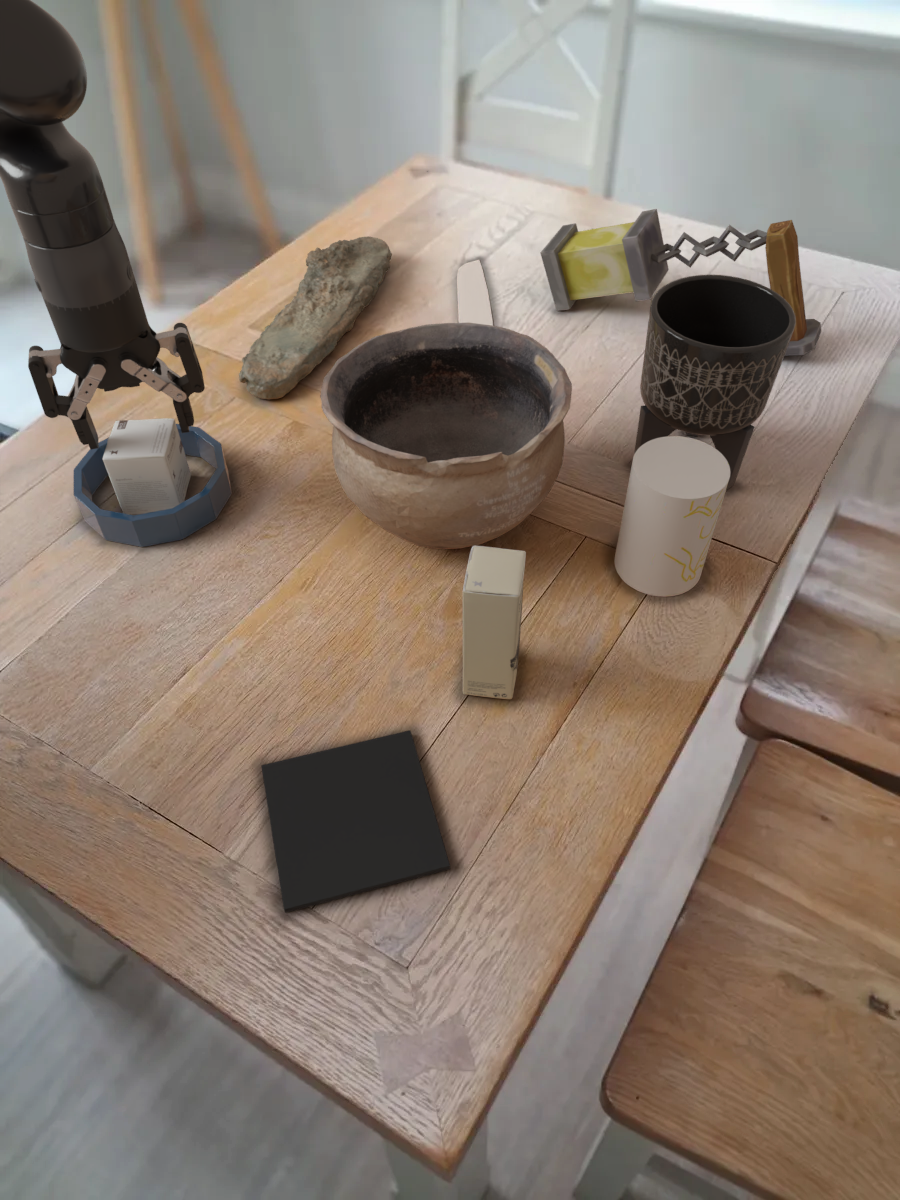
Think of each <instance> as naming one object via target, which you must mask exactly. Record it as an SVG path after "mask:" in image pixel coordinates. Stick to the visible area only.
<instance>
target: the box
mask: <svg viewBox="0 0 900 1200" xmlns="http://www.w3.org/2000/svg"><path fill="white" fill-rule="evenodd" d="M526 556H527V552H526V550H519V549H511V548H501V547H494V546H493V547H492V546H484V545H474V546H471V548H470V552H469V556H468V561H467V565H466V570H465V574H464V581H463V586H462V599H461V600H462V619H461V621H462V694H463V695H468V696H476V697H484V698H493V699H502V700H512V699H513V698H514V692H515V687H516V681H517V675H518V667H519V666H518V665H519V657H520V656H519V655H520V645H521V644H520V642H521V641H520V640H521V628H522V627H521V625H522V613H523V599H524V598H523V597H524V595H523V594H524V581H525V580H524V577H525V568H526V559H527V558H526Z"/></svg>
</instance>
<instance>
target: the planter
mask: <svg viewBox="0 0 900 1200" xmlns="http://www.w3.org/2000/svg"><path fill="white" fill-rule="evenodd" d="M648 315H649V316H648V322H647V329H646V339H645V347H644V353H643V362H642V370H641V377H640V387H639V390H640V396H641V399H642V402H643V404H644V405H640V408H639V415H638V423H637V430H636V438H635V444H634V453H633V455H634V454H635V452H636V451H637V450H638V448H639V447H641V446H642V445H643V444H645V443H646V442H648V441H650V440H653V439H656V438H660V437H666V436H671V434H672V433H674V432H675V431H681V432H684V433H685V435H686V436H690V437H696V438H698V436H709V437H710V439H711V441H712V443H713V445H714V448H715V449H717V450H718V451H719V452H720V453H721V454H722V455H723V456H724V457H725V458H726V460H727V462H728V464H729V466H730V478H729V482H728V485H727V488H726V491H728V490H730V489H731V488H732V487H733V486H735V482H736V480H737V477H738V474H739V472H740V468H741V467H742V463H743V461H744V458H745V455H746V452H747V449H748V447H749V445H750V442H751V439H752V436H753V433H754V431H755V428H756V427H755V425H753V424H754V423H755V422H756V421H757V420H758V419H759V418H760V417H761V416H762V414H763V413H764V411H765V409H766V406H767V403H768V401H769V397H770V395H771V393H772V390H773V387H774V385H775V382H776V379H777V376H778V374H779V371H780V369H781V366H782V363H783V361H784V357H785V356H784V355H785V353H786V350H787V347H788V345H789V342H790V339H791V337H792V334H793V331H794V328H795V325H796V317H795V314H794V311H793V309H792V308H791V306H790V304H789V303H788V302H787V301H786V300H785V299H784V298H783V297H782V296H780V295H779V294H778V293H776V292H775V291H773V290H771V289H770V287H767V286H765V285H763V284H761V283H758V282H757V281H753V280H749V279H746V278H743V277H738V276H737V277H736V276H732V275H723V274H698V275H690V276H685V277H681V278H678V279H675V280H672V281H670V282H669V283H666V284H664V285H663V286H662V287H660V288H659V289H658V290H656V292H655V293H654V294H653V296H652V298H651V301H650V307H649V314H648Z"/></svg>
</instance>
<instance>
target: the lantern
mask: <svg viewBox="0 0 900 1200" xmlns="http://www.w3.org/2000/svg"><path fill="white" fill-rule="evenodd" d="M578 229H579V228H578V226H577V223H570V224H564V225H562V226H561V227H560V228H559V229H558V231H557V232H556V233H555V234H554V235H553V237H552V238H551V239H550V240H549V242H548V243H547V244H546V245H545V246H544V247H543V249H542V250H541V251H540V257H541V261H542V264H543V268H544V272H545V274H546V278H547V282H548V285H549V286H548V287H549V289H550V293H551V296H552V300H553V304H554V306H555V311H556V312H558V311H565V310H567V311H568V310H571V308H572V307H573V306H574V304H575V303H576V301H577V300H584V299H585V300H586V299H591V298H599V297H608V296H616V295H623V294H631V293H633V297H634V301H635V302H640V301H641V302H642V301H648V300H652V298H653V297H654V295H655V293H656V292H657V289H658V288H659V286H660V284H661V283H662V281H663V280H664V278H665V276H666V275H667V274H668V272H669V270H670V269H669V265H668V261H669V260H671V259H673V258H676V260H677V259H678V261H680V262H681V263H682V264H684V265H686V266H687V267H689V268H692V267H693V265H694V264H695V262H696V261H697V260H698V258H699V257H700V256H704V257H706V258H709V257H711V256H713V255H714V254H717V253H719V252H720V253H722V254H723V255H725V256H726V257H727V258H728V259H730V260H732V261H733V262H735V263H736V261H737V260H738V258H739V257H740V256H741V255H742V254H743V252H744V251H745V249H746V250H748V251H755V250H756V249H758V248H760V247H762V246H764V245H765V257H766V267H767V276H768V281H769V288H770V289H771V290H773V291H775V292H776V293H778V294H779V295H780V296H782V297H783V298H784V299H785V300H786V301H787V302H788V303H789V304H790V306H791V308H792V309H793V311H794V314H795V317H796V325H795V328H794V331H793V334H792V337H791V339H790V342H789V345H788V347H787V350H786V353H785V355H784V357H786V356H804V355H806V354H808V353H811V351H814V350H816V347H817V344H818V341H819V340H820V339H819V338H820V336H821V333H822V322H820V321H819V320H817V319H815V318H806V308H805V302H804V290H803V281H802V272H801V264H800V263H801V262H800V250H799V239H798V238H799V237H798V234H797V231H796V228H795V225H794V221H793V219H788V220H782V221H778V222H773V223H770V224H769V226H768V228H767V230H766V231H763V230H761V229H756V230H753V231H751V232H750V233H747V234H743V233H742V232H741V231H740V230H738V229H736V228H735V227H734V226H732V225H731V224H728V225H727V227H726V228H725V229H724V231H723V232H722V233H721V235H720V236H719V237H717V236H715V235H713V236H711V237H709V238H707V239H705V240H702V241H701V242H700V241H698V240H696V239H695V238H694V237H692V236H690V235H689V234H688V233H686V232H685V231H683V232H682V234H681V235H680V237H679V238H678V239H677V241H676V242H675V244H674V245H672V244H670V243H665V244H664V238H663V233H662V228H661V223H660V218H659V213H658V209H657V208H654V209H648V210H642V211H641V212H640V214H639V215H638V216H637V217H636V219H635V221H632V222H625V223H619V224H615V225H608V226H603V227H598V228H592V229H586V230H585V229H584V230H580V231H579V230H578ZM730 234H732V235H733V236H735V237H737V240H736V241H735V242H734V244H736V245H737V246H739V247H738V248H737V250H736V251H735V252H734V253H732V252H731V251H730V250H728V249H727V248H728V247H729V245H730V242H728V241H727V240H726V239H727V237H728V236H729V235H730ZM755 239H756V240H755ZM685 241H687V242H689V243H690V244H691V245H693V247H692V248H691V251H694V253H693V255H692V256H691V257H690V259H688V258H686V257H684V256H683V255H682V254H681V252H682V250H681V249H680V247H681V246H682V245H683V243H684V242H685Z"/></svg>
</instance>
